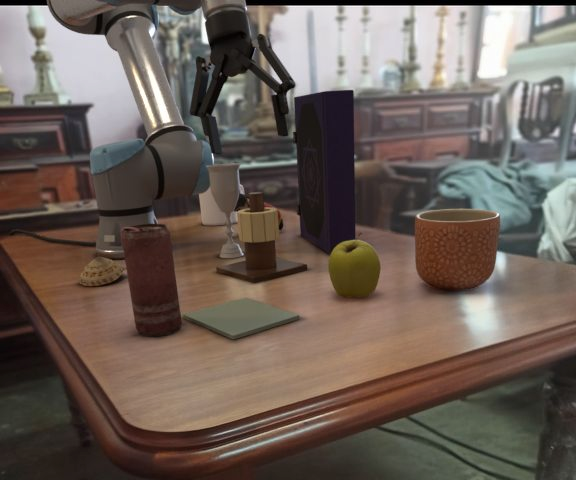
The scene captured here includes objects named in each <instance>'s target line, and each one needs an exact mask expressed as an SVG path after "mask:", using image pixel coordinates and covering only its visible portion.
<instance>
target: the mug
mask: <svg viewBox="0 0 576 480" xmlns="http://www.w3.org/2000/svg"><path fill="white" fill-rule="evenodd" d="M239 194H244V195H245V188H244V186H243V185H242V184H241V183H240V193H239ZM198 198H199V199H198V200H199V208H200V215H201V217H200V218H201V223H202V225H204V226H208V227H210V226H211V227H214V226H216V227H217V226H226V224H225V222H226V215H225V213H223V212H221V211H220V209H219V207H218V205H217V204H216V202H215V200H214V198H213V195H212V193H211V187H209V189H208V190H207V191H206V192H204V193H201V194H198ZM230 218H231V221H232V224H231V225H233V224H236V223H238V220H237V212H235V211H233V212H231V213H230Z"/></svg>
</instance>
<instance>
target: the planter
mask: <svg viewBox="0 0 576 480" xmlns="http://www.w3.org/2000/svg"><path fill="white" fill-rule="evenodd" d="M500 227H501V214H500V213H499V212H497V211H493V210H488V209H481V208H480V209H479V208H444V209H443V208H442V209H433V210H427V211H423V212H422V211H421V212H419V213H416V215H415V218H414V251H415V252H414V256H415V257H414V259H415V260H414V262H415V269H416V272H417V275H418V276H419V278H420V279H421V281H423V282H424V283H425V284H426V285H427V286H429V287H431V288H433V289H436V290H441V291H449V292H453V291H454V292H458V291H459V292H461V291H469V290H474V289H477V288H479V287H480V286H483V284H485V283H486V282H487V281H488V280H489V279H490V278H491V276H492V275H493V273H494V271H495V266H496V262H497V256H498V255H497V254H498V245H499V237H500V230H501V229H500Z"/></svg>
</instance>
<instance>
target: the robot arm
mask: <svg viewBox="0 0 576 480" xmlns="http://www.w3.org/2000/svg"><path fill="white" fill-rule="evenodd" d="M46 4H47V7H48V11H49V12H50V14H51V16H52V17H53V18H54V20H55V21H56V22H57V23H59V24H60V25H61V26H62V27H63V28H65V29H66V30H68V31H71V32H74V33H76V34H81V35H89V36H104V38H105V41H106V42H107V45H108V47H109V48H110V49H112V50H113V51H115V52H117V54H118V56H119V59H120V62H121V65H122V68H123V71H124V74H125V76H126V80H127V81H128V84H129V87H130V91H131V92H132V96H133V99H134V101H135V104H136V107H137V110H138V112H139V115H140V118H141V120H142V124H143V126H144V129H145V132H146V134H147V135H146V136H147V137H146V139H145V141H144V139H143V138H132V139H131V138H130V139H126V140H120V141H115V142H110V143H106V144H102V145H98V146H95V147H94V148H92V149H91V150H90V152H89V166H90V174H91V177H92V182H93V188H94V195H95V200H96V206H97V211H98V219H99V222H98V228H97V234H96V235H97V236H96V240H95V241H83V240H73V239H72V240H71V239H62V238H61V239H60V238H53V237H52V238H51V237H48V236H44V235H42V236H40V235H41V234H39V235H37V234H38V233H36V232H33V231H27V230H23V229H18V228H15V229H12V230H11V231H10V233H9V236H13V235H15V233H18V234H19V233H20V234H23V235H27V236H33V237H35V238H38V239H40V240H43V241H46V242H52V243H58V244H68V245H69V244H70V245H79V246H93V247H95V251H96V257H103V258H108V259H111V260H113V259H115V260H119V259H125V257H124V251H123V247H122V241H121V230H122V229H123V228H124V227H130V226H135V225H142V224H159V221H158V220H157V218H156V216H155V211H154V205H153V203H154V202H153V201H156V200H165V199H174V198H183V197H192V196H195V195H199V194H201V193H204V192H206V191H207V190H208V189H209V187H210V177H209V171H208V169H207V167H206V166H208V165H215V160H214V155H223V148H222V143H221V137H220V133H219V128H218V122H217V117H216V116H214V115H212V114H213V112H214V110H215V108H216V105H217V102H218V100H219V97H220V95H221V93H222V90H223V88H224V85H225V83H227V81H228V79H229V78H234V77H236V76H238V75H243V74H246V73H247V71H251V72H252V74H254V75H255V76H256V77H257V78H258V79H260V81H262V82H263V83H264V84H265V85H266V86H267V87H269V88H270V89H271V90H272V91H273V93H274V94H272V95H271V96H270V97H271V103H272V109H273V114H274V120H275V124H276V131H277V136H279V137H289V131H288V124H287V118H286V115H288V114H289V112H290V109H289V108H290V107H289V102H288V96H287V95H288V93H289V91H291V90H292V89H295V87H296V81H295V80H294V78H293V77H292V76H291V74H290V72H289V71H288V69H287V68H286V67H285V65H284V63H282V61H281V60H280V58H279V57H278V55H277V54H276V52H275V51H274V49H273V47H272V43H271V40H270V39H271V38H269V37H268V36H267V35H264V34H263V33H259V34H257V36H256V38H255V39H252V32H251V31H252V30H251V26H250V22H249V16H248V14H247V11H248V9H247V3H246V0H46ZM158 6H166V7H168V8H169V9H170V10H171V11H173V12H175V13H176V14H178V15H180V16H190V15H192V14H194V13H195V12H196V11H198V10H199V9H201V10H202V11H201V12H202V15H203V18H204V20H205V21H204V27H205V32H206V37H207V43H208V45H209V49H210V54H209V55H207V56H200V55H197V56H196V57H195V68H196V69H195V70H196V72H195V77H194V84H193V90H192V96H191V99H190V106H189V115H190V116H192V117H198V118H200V121H201V126H202V132H203V134H204V136H205V137H208V142H207V141H206V140H203V139H199V140H197V137H196V134H195V132H194V130H193V128H192V127H191V126H189V125H186V124H185V123H184V121H183V118H182V115H181V113H180V110H179V108H178V105H177V102H176V99H175V96H174V94H173V92H172V88H171V85H170V83H169V81H168V78H167V75H166V72H165V69H164V67H163V64H162V61H161V58H160V55H159V53H158V50H157V48H156V45H155V42H154V39H155V37H156V33H157V31H158V29H159V24H160V23H159V22H160V14H159V11H158ZM256 50H258V51H259V52H261V54H262V55H263V57H264V58H265V60H266V61H267V63H268V64H269V66H270V67H271V68H272V70H273V71H274V73H275V74H276V76H277V77H278V79H279V80H280V82H281V83H280V82H279V81H278V80H276V78H274V77H273V76H272V75H271V74H270V73H268V72H267V71H266V70H265V69H264V68H263V67H262V66H261V65H260V64H259V63H258V62H257V61H256V60H255V59H253V58H254V55H255V52H256ZM212 65H213V66H214V67H213V70H212ZM210 70H212V73H211V80H209V79H210ZM209 81H210V82H209ZM208 84H209V85H208Z"/></svg>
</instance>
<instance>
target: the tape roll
mask: <svg viewBox="0 0 576 480" xmlns="http://www.w3.org/2000/svg"><path fill="white" fill-rule="evenodd" d="M264 210H265V212H255V213H250V208H248V209H242V210H240V211H237V220H238V222H237V232H238V240H239V241H241V242H242V243H244V242H251V243H252V242H254V243H255V242H265V241H266V242H267V241H272V240H275V241H277V239H280V230H279V224H278V210H279V209H278V208H276V207H275V208H268V207H264Z"/></svg>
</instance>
